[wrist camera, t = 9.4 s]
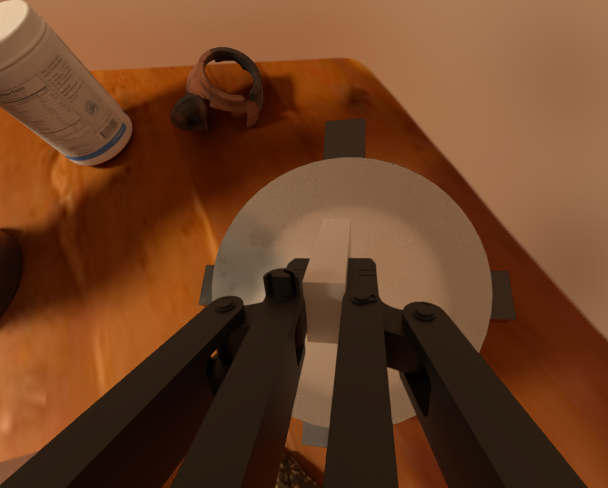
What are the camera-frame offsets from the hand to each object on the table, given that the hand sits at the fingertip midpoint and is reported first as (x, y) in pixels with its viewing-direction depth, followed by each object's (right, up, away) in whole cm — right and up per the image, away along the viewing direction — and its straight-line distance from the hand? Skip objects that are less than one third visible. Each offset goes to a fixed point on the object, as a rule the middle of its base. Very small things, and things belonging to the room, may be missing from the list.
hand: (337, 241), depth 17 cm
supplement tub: (-29, +14, +24) cm, 41 cm away
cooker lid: (+1, -1, +4) cm, 4 cm away
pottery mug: (-12, +16, +23) cm, 31 cm away
